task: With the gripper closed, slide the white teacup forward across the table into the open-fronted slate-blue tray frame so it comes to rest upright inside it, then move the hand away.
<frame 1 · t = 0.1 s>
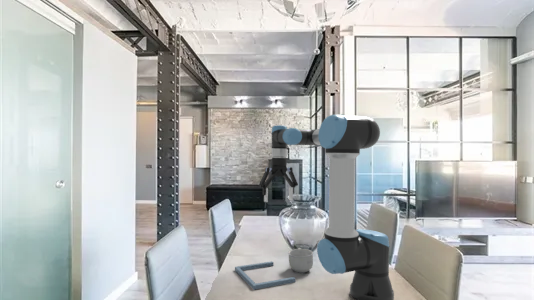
hand: (278, 201, 155), 28 cm above the table, tool pointing down, fingers open, 13 cm apart
tray frame: (264, 275, 133), on the table
teacup: (300, 269, 141), on the table
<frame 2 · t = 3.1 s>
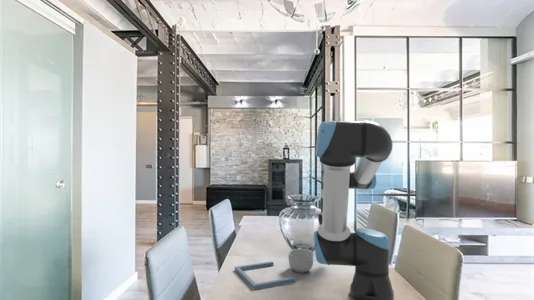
hand: (328, 248, 148), 7 cm above the table, tool pointing down, fingers closed
nothing on the table moved.
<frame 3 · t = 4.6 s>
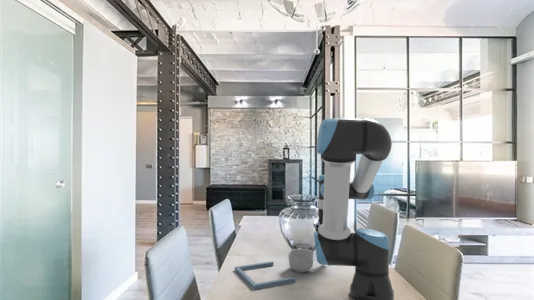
hand: (326, 259, 147), 2 cm above the table, tool pointing down, fingers closed
nothing on the table moved.
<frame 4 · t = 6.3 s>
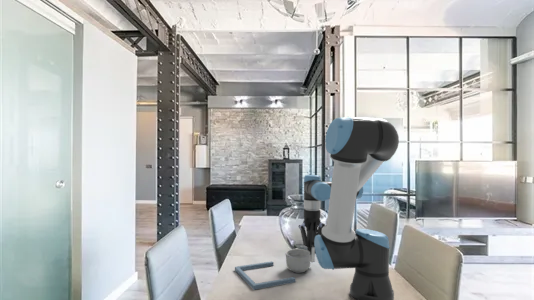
hand: (311, 261, 144), 3 cm above the table, tool pointing down, fingers closed
teacup: (298, 269, 141), on the table, touching gripper
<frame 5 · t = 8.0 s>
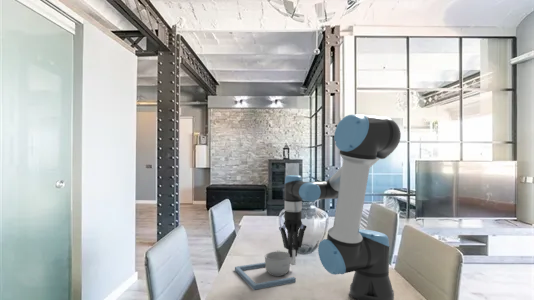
hand: (292, 264, 140), 3 cm above the table, tool pointing down, fingers closed
teacup: (278, 272, 137), on the table, touching gripper
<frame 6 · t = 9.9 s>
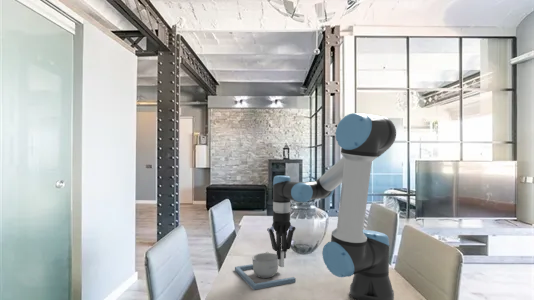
hand: (281, 266, 137), 2 cm above the table, tool pointing down, fingers closed
teacup: (266, 274, 135), on the table, touching gripper
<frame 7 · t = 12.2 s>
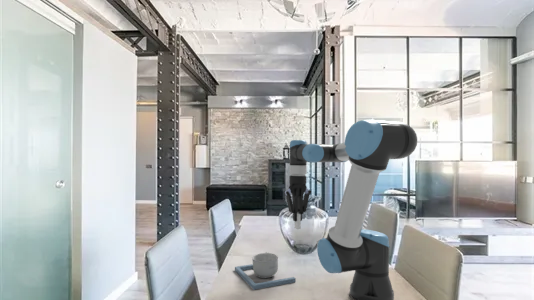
hand: (297, 228, 140), 18 cm above the table, tool pointing down, fingers closed
teacup: (266, 274, 135), on the table
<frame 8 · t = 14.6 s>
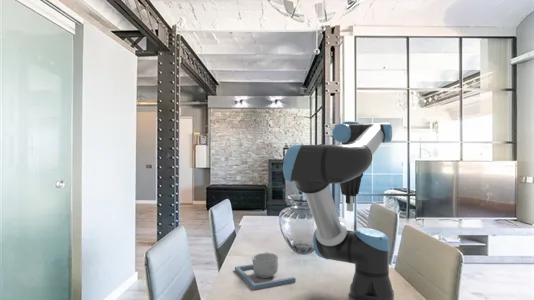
hand: (349, 210, 139), 26 cm above the table, tool pointing down, fingers closed
nothing on the table moved.
at the end: teacup inside the target area on the tray frame (1.5 cm from its centre), point 0.0 cm above the tray frame's base; teacup tilted 0°; teacup moved 16.8 cm from its start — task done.
